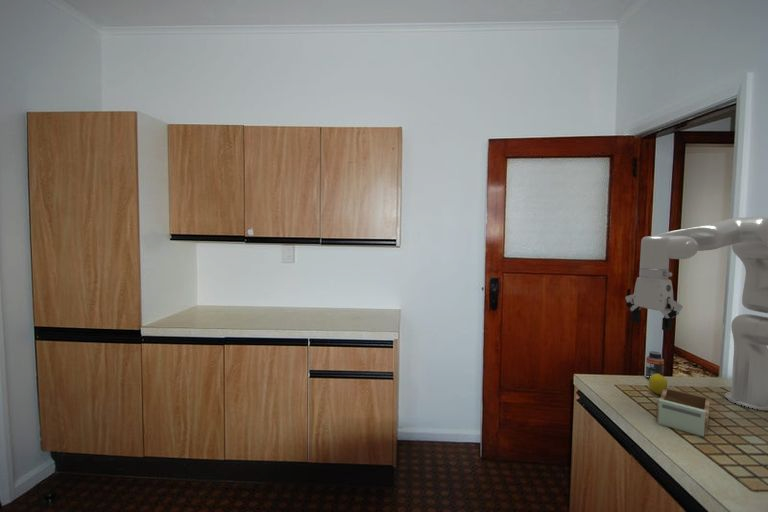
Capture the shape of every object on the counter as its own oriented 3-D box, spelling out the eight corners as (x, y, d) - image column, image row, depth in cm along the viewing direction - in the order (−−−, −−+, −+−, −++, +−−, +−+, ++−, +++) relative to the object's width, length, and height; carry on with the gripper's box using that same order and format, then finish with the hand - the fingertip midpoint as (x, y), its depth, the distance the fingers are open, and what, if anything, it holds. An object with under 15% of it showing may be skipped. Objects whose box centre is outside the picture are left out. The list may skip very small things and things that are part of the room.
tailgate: (658, 421, 115) (659, 398, 114) (704, 434, 107) (705, 410, 106) (658, 424, 114) (658, 400, 112) (703, 437, 106) (705, 412, 105)
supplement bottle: (661, 377, 152) (662, 351, 151) (665, 383, 146) (666, 355, 146) (644, 375, 154) (645, 349, 153) (647, 380, 149) (648, 353, 148)
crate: (663, 403, 128) (664, 387, 128) (709, 415, 120) (710, 398, 120) (656, 423, 115) (657, 404, 115) (706, 437, 107) (707, 418, 107)
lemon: (669, 398, 133) (671, 377, 132) (652, 396, 134) (653, 375, 134) (661, 391, 138) (662, 371, 138) (645, 390, 139) (646, 370, 139)
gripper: (691, 277, 110) (687, 332, 111) (635, 271, 127) (632, 319, 128) (674, 277, 108) (671, 334, 109) (619, 271, 124) (617, 321, 125)
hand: (650, 326), depth 118 cm, fingers open, 9 cm apart
